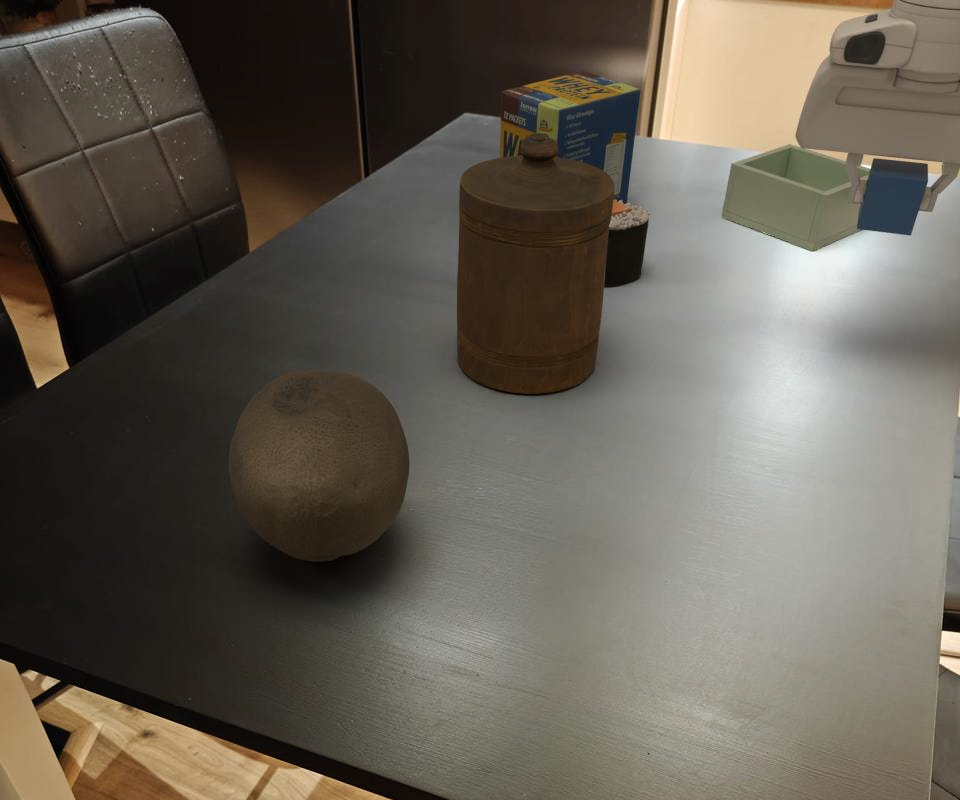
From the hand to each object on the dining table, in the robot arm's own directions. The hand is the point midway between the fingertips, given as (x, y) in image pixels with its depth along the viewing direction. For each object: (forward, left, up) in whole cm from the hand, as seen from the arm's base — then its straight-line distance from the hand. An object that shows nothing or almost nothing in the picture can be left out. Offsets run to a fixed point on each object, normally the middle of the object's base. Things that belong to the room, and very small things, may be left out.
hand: (888, 205), depth 90 cm
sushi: (+31, +4, -16) cm, 35 cm away
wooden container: (+21, +27, -16) cm, 38 cm away
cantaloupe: (+8, +61, -16) cm, 64 cm away
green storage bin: (+26, -28, -16) cm, 41 cm away
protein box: (+48, -5, -16) cm, 51 cm away
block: (0, 0, -2) cm, 2 cm away
